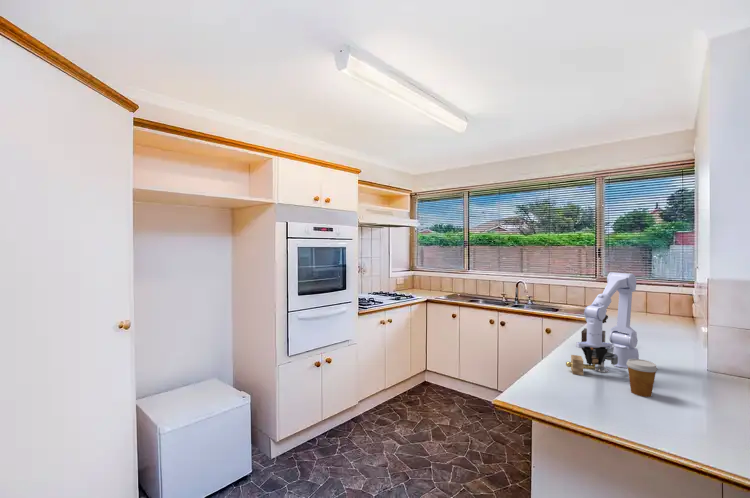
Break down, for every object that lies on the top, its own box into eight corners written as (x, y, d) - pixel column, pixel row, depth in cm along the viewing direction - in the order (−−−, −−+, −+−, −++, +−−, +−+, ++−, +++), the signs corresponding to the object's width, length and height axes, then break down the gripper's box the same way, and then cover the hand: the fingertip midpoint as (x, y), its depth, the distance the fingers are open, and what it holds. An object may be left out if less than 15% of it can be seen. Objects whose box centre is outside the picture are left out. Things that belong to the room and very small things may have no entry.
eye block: (581, 370, 157) (581, 355, 157) (583, 375, 151) (583, 360, 151) (570, 368, 159) (571, 354, 159) (572, 374, 153) (572, 359, 152)
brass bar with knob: (597, 369, 153) (598, 357, 153) (599, 372, 150) (599, 359, 150) (565, 365, 158) (565, 353, 158) (566, 367, 155) (566, 355, 155)
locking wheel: (618, 365, 151) (618, 354, 151) (585, 360, 157) (585, 349, 157) (616, 358, 160) (616, 348, 160) (584, 354, 166) (585, 344, 166)
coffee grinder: (604, 352, 184) (605, 318, 183) (580, 348, 191) (581, 315, 190) (608, 345, 196) (608, 314, 195) (585, 342, 203) (586, 311, 202)
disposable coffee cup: (652, 391, 136) (653, 360, 135) (660, 401, 127) (661, 368, 127) (623, 386, 140) (623, 357, 139) (628, 396, 131) (629, 364, 131)
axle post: (607, 368, 159) (607, 359, 159) (610, 373, 154) (610, 363, 154) (592, 366, 162) (592, 357, 161) (594, 371, 156) (594, 361, 156)
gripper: (605, 331, 156) (604, 361, 156) (572, 330, 156) (572, 360, 156) (615, 335, 149) (615, 366, 149) (581, 334, 149) (581, 366, 149)
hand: (593, 364), depth 152 cm, fingers closed on brass bar with knob, 4 cm apart
